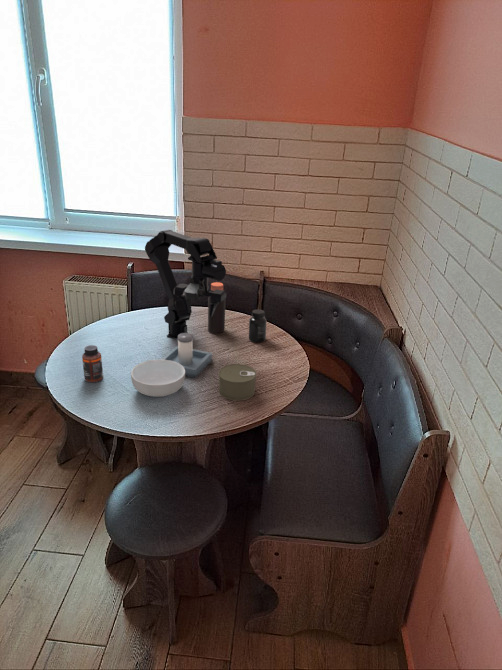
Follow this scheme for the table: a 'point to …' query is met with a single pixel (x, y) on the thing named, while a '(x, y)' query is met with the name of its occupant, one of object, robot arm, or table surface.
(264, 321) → the supplement bottle
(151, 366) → the cereal bowl
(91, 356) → the supplement bottle
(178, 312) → the robot arm
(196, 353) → the tray
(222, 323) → the vinegar
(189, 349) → the shaker
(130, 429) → the table surface
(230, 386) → the can
